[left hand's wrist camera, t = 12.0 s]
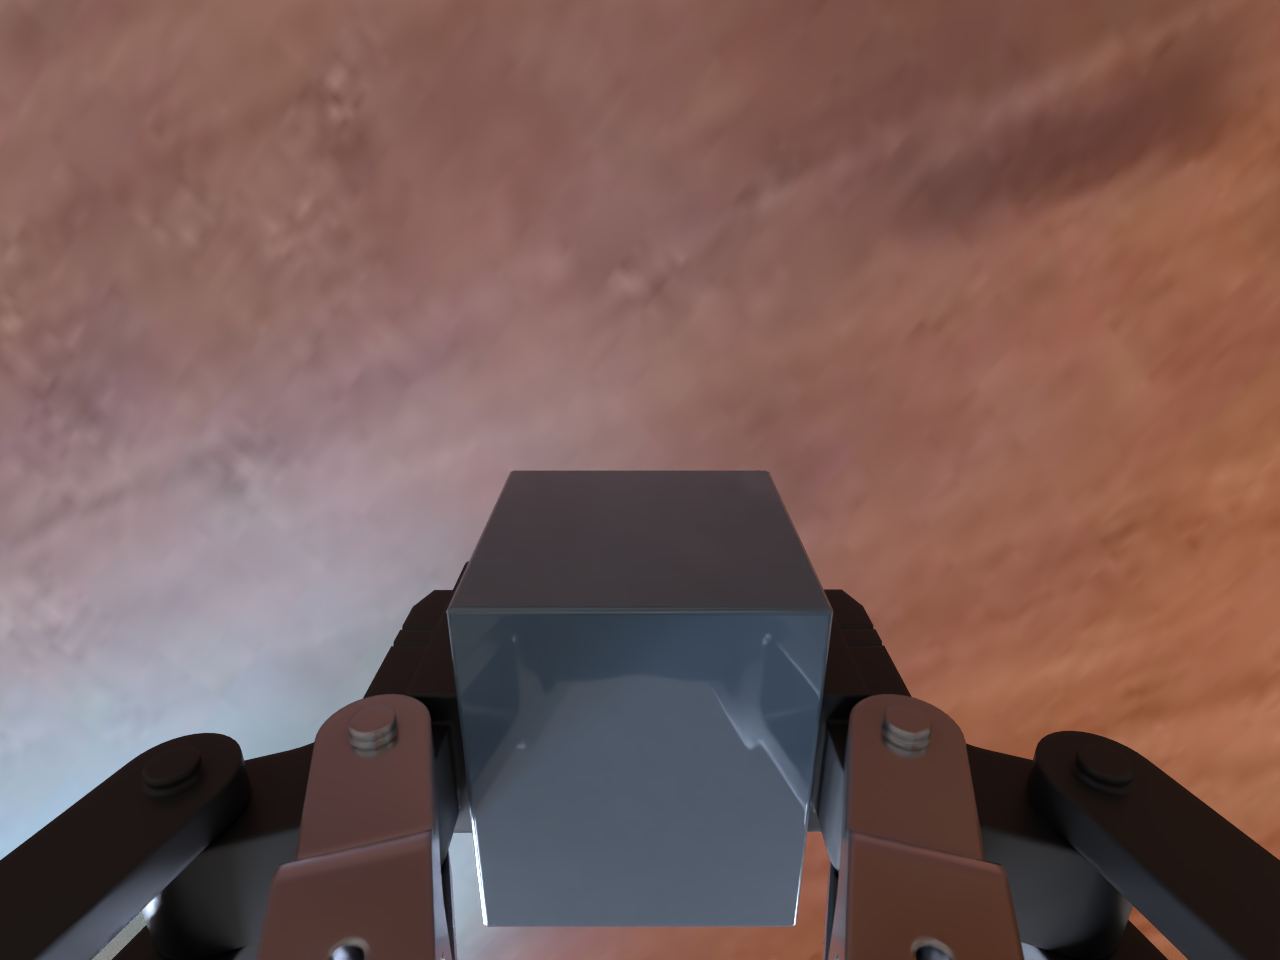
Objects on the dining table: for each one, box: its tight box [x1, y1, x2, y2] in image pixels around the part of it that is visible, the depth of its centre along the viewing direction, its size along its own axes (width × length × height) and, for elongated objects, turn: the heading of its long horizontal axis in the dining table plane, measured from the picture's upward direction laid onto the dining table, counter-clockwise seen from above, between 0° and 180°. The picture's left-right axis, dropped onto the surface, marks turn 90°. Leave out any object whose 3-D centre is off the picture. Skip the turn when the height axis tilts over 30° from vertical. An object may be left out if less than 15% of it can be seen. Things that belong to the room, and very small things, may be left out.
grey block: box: [447, 471, 833, 927], centre depth 11 cm, size 5×4×4 cm
